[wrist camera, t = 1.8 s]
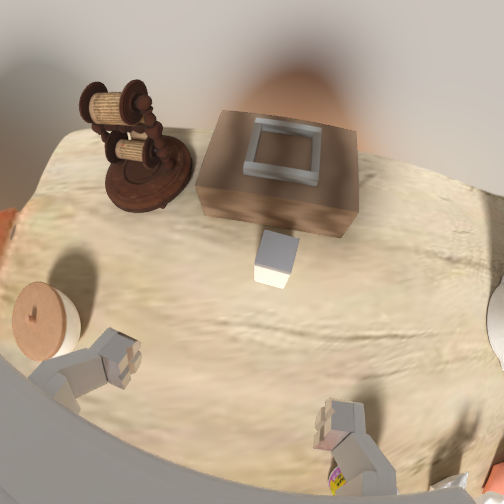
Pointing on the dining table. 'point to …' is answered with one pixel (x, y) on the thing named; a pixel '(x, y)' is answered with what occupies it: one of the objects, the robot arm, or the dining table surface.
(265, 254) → the grey white rectangular block
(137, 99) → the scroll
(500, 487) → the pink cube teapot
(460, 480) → the figurine
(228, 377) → the dining table surface
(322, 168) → the block
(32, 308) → the lidded jar
